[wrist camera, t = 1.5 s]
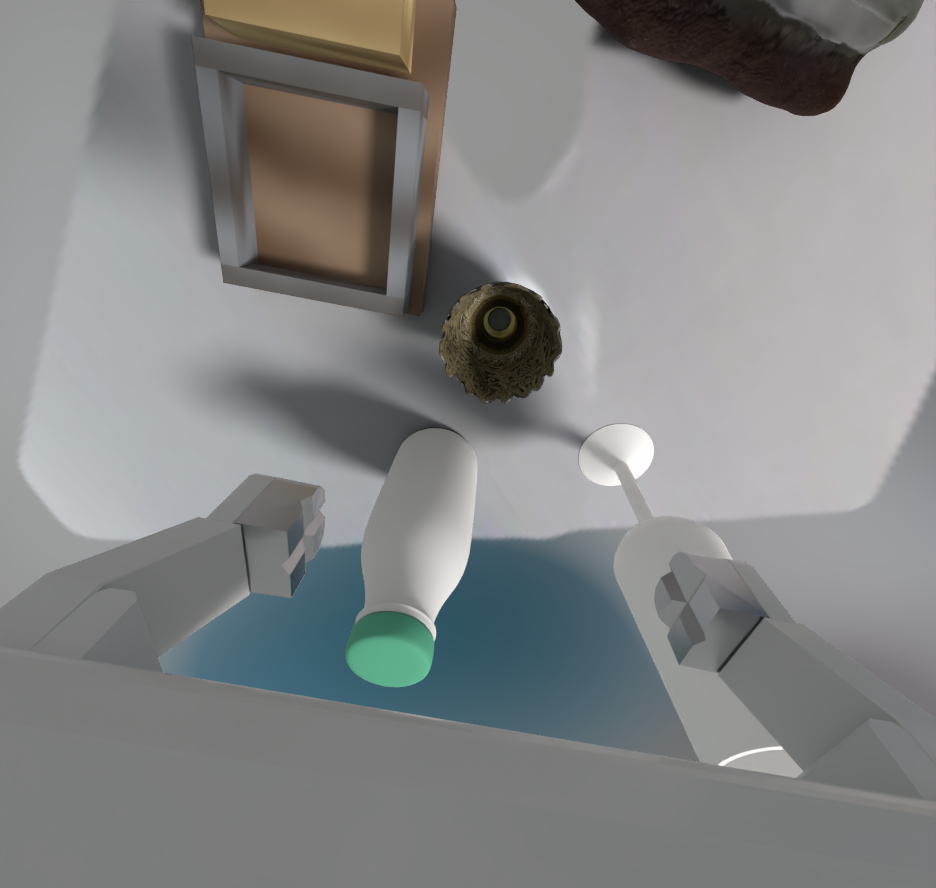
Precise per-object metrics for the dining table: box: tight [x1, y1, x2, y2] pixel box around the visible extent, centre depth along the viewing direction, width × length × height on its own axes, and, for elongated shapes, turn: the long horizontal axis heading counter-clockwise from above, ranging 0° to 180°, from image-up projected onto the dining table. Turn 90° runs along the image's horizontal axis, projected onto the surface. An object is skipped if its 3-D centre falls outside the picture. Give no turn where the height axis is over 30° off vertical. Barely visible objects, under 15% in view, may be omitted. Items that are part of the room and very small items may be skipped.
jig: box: [191, 0, 456, 317], centre depth 25 cm, size 17×14×4 cm
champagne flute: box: [579, 424, 804, 778], centre depth 26 cm, size 7×7×24 cm
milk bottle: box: [345, 428, 478, 687], centre depth 29 cm, size 8×8×20 cm
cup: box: [439, 282, 562, 404], centre depth 27 cm, size 8×7×8 cm
